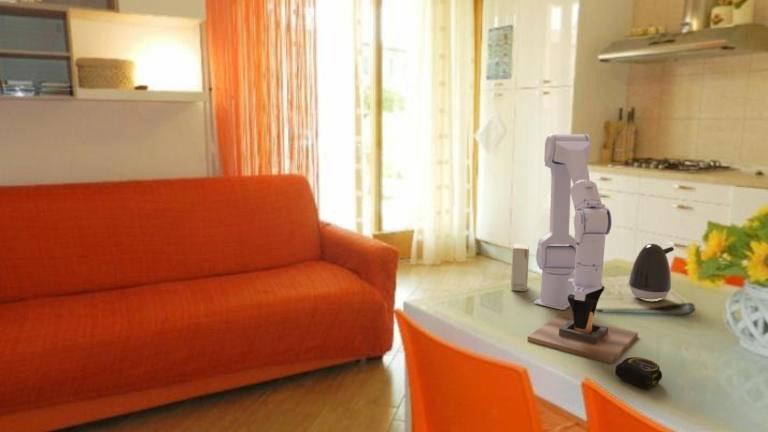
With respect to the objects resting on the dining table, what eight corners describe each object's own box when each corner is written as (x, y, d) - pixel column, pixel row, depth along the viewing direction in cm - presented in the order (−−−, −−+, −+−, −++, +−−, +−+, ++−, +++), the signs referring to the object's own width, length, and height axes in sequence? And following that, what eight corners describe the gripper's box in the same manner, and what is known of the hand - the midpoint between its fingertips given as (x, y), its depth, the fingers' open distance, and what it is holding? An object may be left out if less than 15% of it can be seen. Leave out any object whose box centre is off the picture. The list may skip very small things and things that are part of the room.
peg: (576, 329, 127) (577, 308, 127) (592, 333, 126) (594, 311, 125) (572, 335, 124) (574, 313, 123) (589, 338, 123) (591, 316, 122)
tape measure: (612, 380, 107) (613, 361, 106) (633, 370, 110) (635, 352, 110) (646, 395, 101) (648, 375, 100) (667, 384, 105) (669, 366, 104)
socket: (559, 317, 138) (560, 307, 137) (637, 336, 126) (638, 325, 126) (527, 340, 124) (528, 329, 123) (611, 364, 113) (612, 352, 112)
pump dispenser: (677, 305, 147) (683, 248, 144) (637, 305, 147) (642, 248, 144) (659, 293, 157) (664, 239, 154) (621, 292, 157) (626, 239, 154)
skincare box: (527, 292, 157) (529, 249, 154) (511, 291, 157) (513, 248, 155) (526, 285, 163) (528, 243, 161) (510, 284, 164) (512, 243, 161)
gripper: (577, 253, 130) (573, 309, 133) (561, 268, 118) (557, 329, 120) (609, 257, 126) (604, 314, 129) (597, 273, 114) (591, 336, 117)
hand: (584, 322), depth 124 cm, fingers open, 7 cm apart
